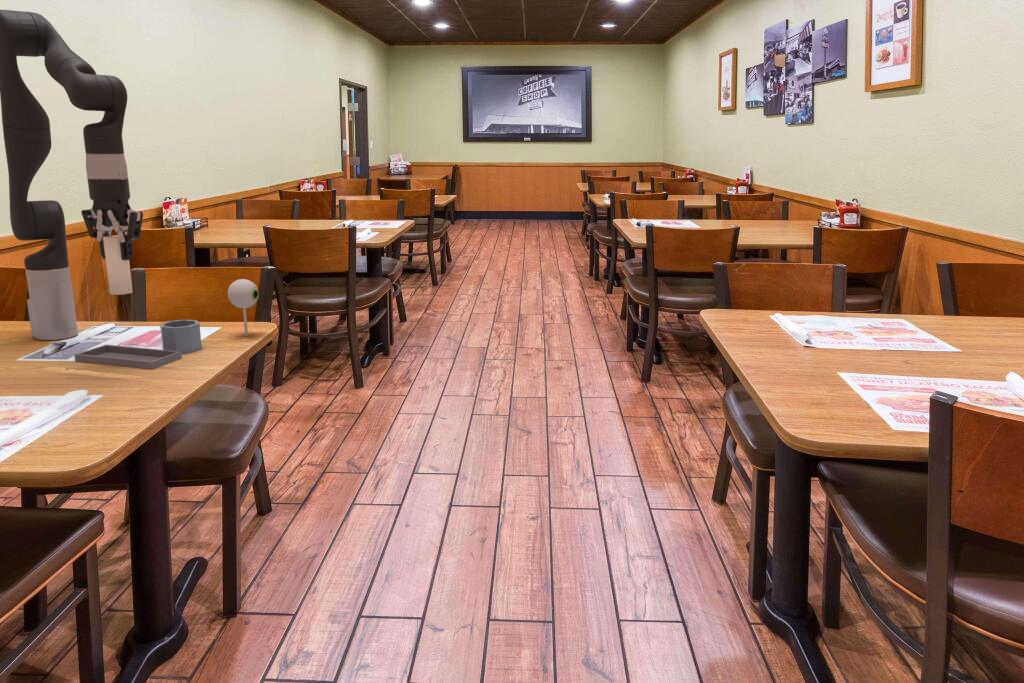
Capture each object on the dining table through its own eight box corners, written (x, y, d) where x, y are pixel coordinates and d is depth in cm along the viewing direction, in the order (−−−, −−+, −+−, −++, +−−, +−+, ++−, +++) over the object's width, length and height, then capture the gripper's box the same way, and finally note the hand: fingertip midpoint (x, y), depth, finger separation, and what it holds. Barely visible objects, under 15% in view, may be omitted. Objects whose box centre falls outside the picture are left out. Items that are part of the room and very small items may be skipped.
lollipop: (252, 343, 187) (247, 282, 183) (225, 341, 189) (220, 281, 185) (267, 336, 194) (262, 277, 190) (241, 334, 195) (236, 276, 192)
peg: (104, 293, 164) (97, 237, 161) (120, 290, 168) (113, 234, 165) (122, 295, 163) (115, 238, 160) (137, 291, 167) (131, 235, 164)
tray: (75, 365, 167) (74, 354, 167) (107, 355, 176) (106, 344, 175) (153, 373, 162) (151, 362, 162) (182, 362, 171) (180, 351, 170)
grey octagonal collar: (155, 356, 175) (152, 326, 174) (179, 347, 183) (176, 318, 181) (185, 359, 173) (182, 328, 171) (208, 350, 181) (206, 321, 179)
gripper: (64, 176, 158) (75, 260, 162) (123, 178, 154) (132, 263, 158) (93, 175, 165) (103, 255, 169) (149, 176, 161) (158, 258, 165)
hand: (117, 258), depth 163 cm, fingers closed on peg, 4 cm apart
